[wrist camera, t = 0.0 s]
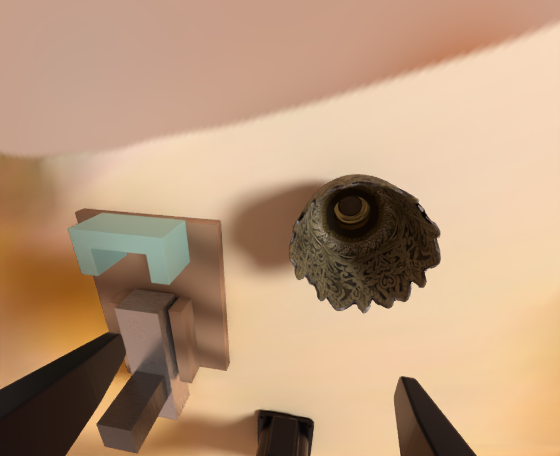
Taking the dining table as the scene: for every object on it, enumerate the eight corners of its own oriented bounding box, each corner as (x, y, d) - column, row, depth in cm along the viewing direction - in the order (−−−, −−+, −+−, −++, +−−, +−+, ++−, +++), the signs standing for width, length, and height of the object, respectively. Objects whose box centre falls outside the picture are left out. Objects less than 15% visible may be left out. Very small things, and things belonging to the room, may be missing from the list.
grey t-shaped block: (189, 395, 32) (149, 477, 24) (157, 389, 32) (108, 468, 25) (174, 294, 26) (116, 363, 19) (134, 288, 26) (64, 355, 19)
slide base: (229, 362, 30) (219, 388, 28) (121, 345, 32) (102, 367, 29) (220, 220, 24) (206, 235, 21) (84, 208, 25) (54, 220, 23)
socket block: (189, 261, 25) (169, 284, 21) (112, 253, 26) (81, 274, 22) (185, 220, 23) (162, 238, 20) (102, 212, 24) (67, 228, 21)
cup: (282, 196, 22) (260, 239, 15) (363, 134, 19) (385, 149, 12) (338, 263, 23) (343, 333, 16) (420, 215, 21) (470, 272, 14)
